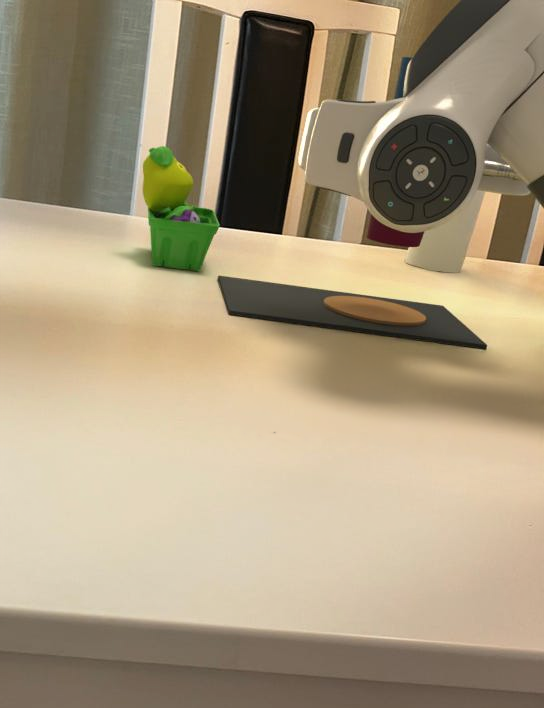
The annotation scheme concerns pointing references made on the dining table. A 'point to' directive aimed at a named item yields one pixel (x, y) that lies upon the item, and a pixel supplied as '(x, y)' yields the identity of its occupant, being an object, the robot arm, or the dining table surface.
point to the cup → (375, 228)
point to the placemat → (345, 311)
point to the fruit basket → (175, 214)
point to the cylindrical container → (447, 240)
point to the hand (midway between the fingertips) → (417, 148)
